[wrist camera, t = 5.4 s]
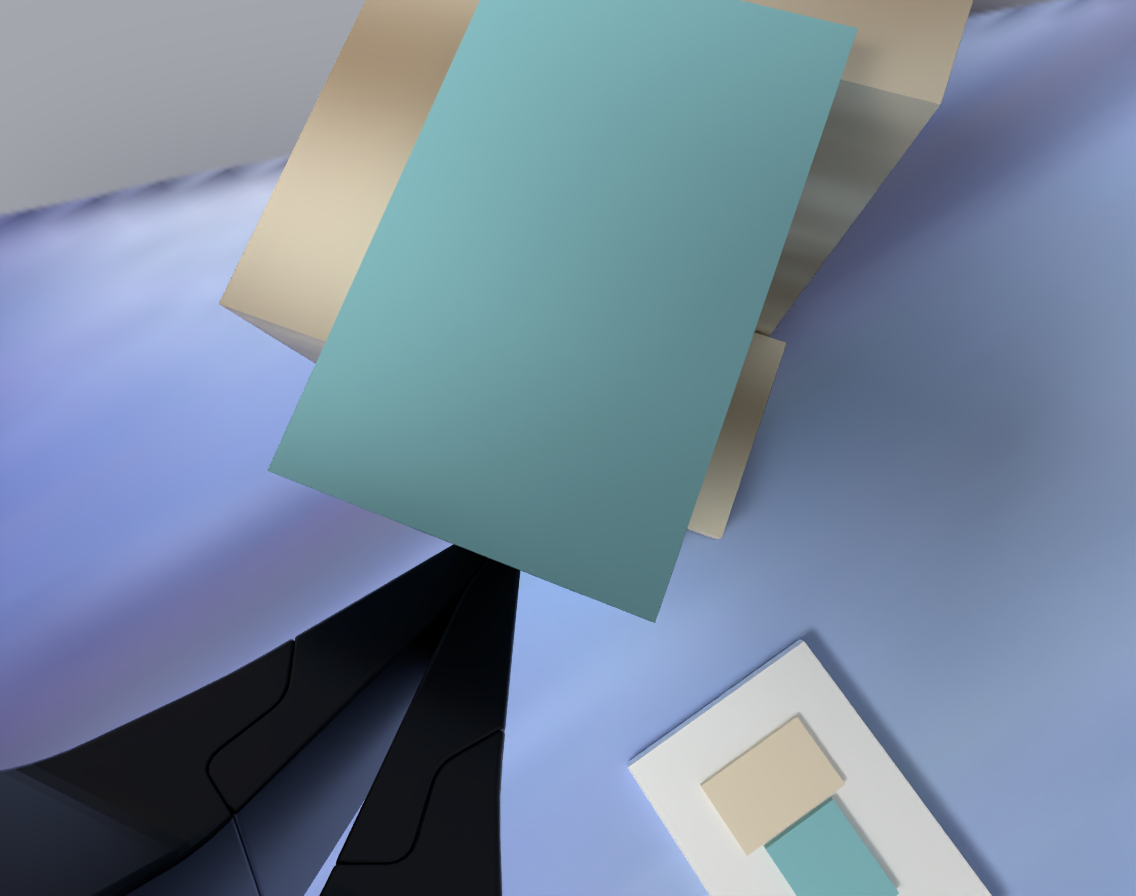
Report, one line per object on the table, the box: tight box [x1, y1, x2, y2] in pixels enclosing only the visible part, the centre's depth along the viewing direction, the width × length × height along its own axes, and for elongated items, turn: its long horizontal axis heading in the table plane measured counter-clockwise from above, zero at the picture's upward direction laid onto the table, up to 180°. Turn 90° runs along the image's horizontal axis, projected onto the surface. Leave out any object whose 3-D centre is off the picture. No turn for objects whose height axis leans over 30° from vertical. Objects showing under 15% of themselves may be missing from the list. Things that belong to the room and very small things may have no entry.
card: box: [627, 639, 992, 896], centre depth 15 cm, size 8×6×1 cm
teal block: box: [268, 0, 858, 623], centre depth 12 cm, size 8×5×10 cm, turn 159°
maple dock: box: [219, 0, 973, 539], centre depth 13 cm, size 8×9×10 cm
